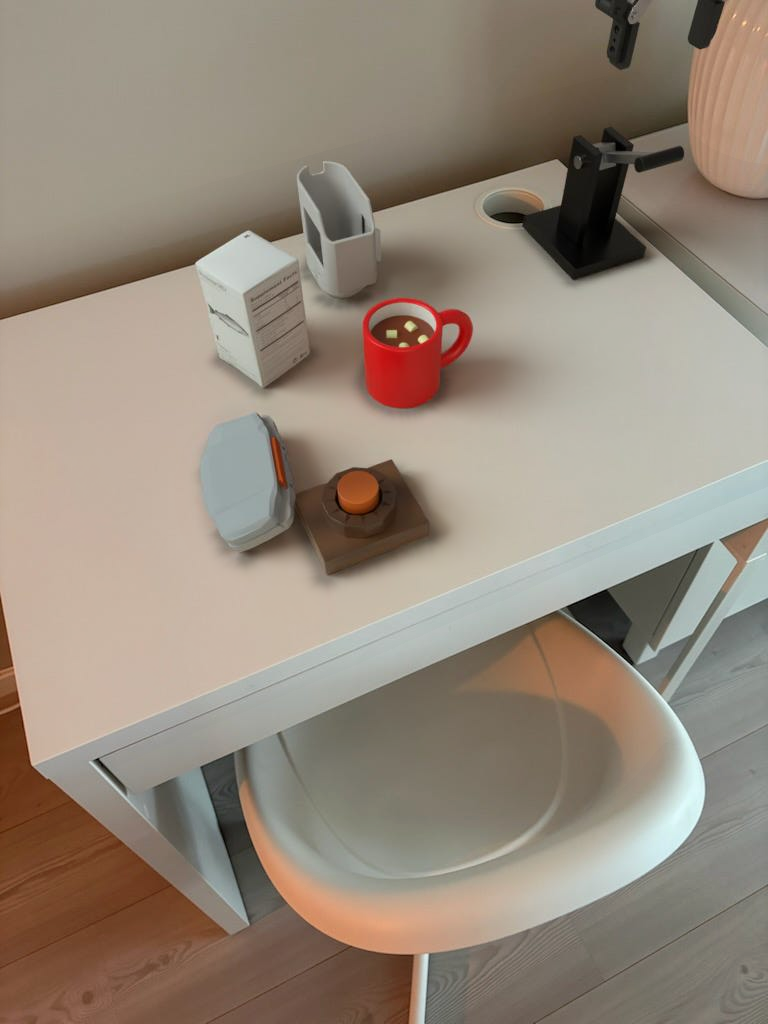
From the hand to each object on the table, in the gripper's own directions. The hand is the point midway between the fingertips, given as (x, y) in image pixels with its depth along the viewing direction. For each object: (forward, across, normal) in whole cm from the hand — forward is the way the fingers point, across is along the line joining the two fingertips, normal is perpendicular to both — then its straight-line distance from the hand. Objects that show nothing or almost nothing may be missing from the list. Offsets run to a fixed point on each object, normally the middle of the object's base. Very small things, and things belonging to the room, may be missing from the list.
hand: (658, 55), depth 67 cm
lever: (+14, +3, +4) cm, 15 cm away
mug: (+26, -25, -3) cm, 36 cm away
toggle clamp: (+26, +4, +9) cm, 27 cm away
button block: (+26, -38, -18) cm, 49 cm away
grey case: (+24, -50, -9) cm, 57 cm away
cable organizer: (+26, -26, +14) cm, 40 cm away
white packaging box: (+26, -39, +7) cm, 47 cm away
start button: (+22, -38, -18) cm, 48 cm away
